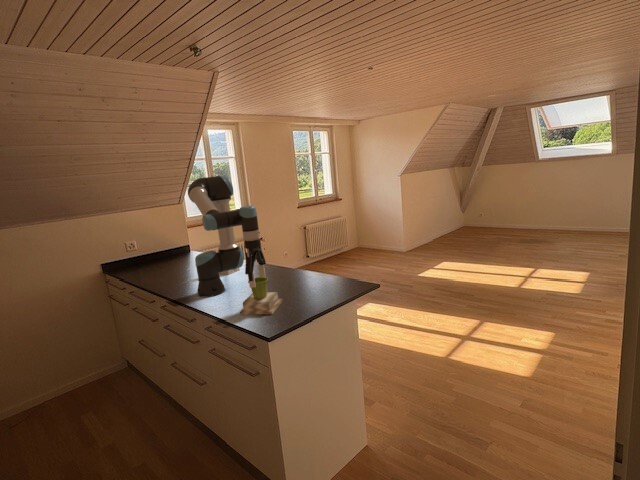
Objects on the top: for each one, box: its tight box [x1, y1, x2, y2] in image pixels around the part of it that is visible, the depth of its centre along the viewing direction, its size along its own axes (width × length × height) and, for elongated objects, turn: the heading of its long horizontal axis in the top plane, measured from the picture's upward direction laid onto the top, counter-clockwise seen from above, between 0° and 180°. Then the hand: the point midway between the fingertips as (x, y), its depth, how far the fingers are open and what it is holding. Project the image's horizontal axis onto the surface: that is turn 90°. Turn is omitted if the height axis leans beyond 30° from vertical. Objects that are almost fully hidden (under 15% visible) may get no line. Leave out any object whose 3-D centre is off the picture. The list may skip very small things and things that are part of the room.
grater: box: [217, 244, 240, 276], centre depth 247 cm, size 10×10×20 cm
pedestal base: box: [239, 291, 283, 315], centre depth 176 cm, size 16×16×6 cm
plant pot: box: [247, 276, 269, 299], centre depth 175 cm, size 9×9×9 cm
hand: (258, 282), depth 174 cm, fingers open, 13 cm apart
